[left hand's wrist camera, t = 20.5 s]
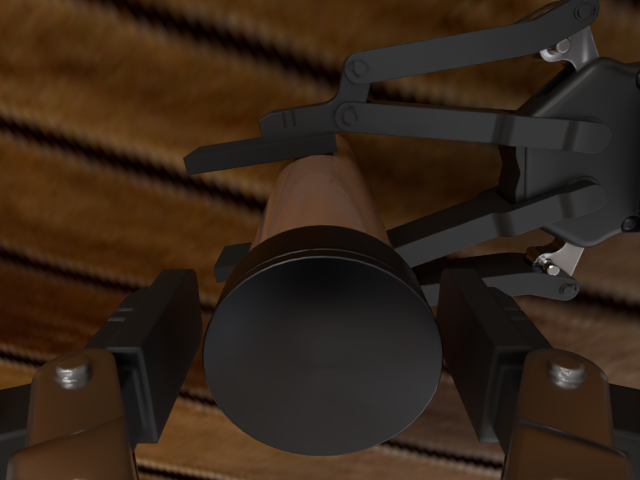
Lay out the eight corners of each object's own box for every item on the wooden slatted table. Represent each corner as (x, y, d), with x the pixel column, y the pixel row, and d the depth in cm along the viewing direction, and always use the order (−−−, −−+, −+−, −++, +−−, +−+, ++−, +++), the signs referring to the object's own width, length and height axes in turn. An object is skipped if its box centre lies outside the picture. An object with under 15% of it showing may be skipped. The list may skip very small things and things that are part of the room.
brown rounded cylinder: (267, 165, 27) (177, 343, 10) (321, 113, 26) (328, 209, 8) (318, 216, 28) (317, 455, 11) (372, 169, 27) (466, 351, 10)
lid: (449, 364, 11) (472, 417, 10) (272, 423, 12) (264, 481, 10) (384, 190, 10) (398, 216, 8) (182, 269, 10) (156, 310, 9)
